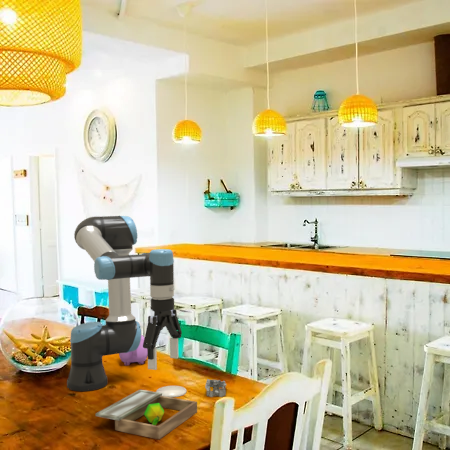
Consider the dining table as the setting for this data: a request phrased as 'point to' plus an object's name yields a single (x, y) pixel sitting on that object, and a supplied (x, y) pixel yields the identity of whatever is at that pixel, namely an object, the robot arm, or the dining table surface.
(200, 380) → the dining table surface
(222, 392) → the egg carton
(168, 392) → the saucer
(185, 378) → the dining table surface
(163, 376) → the dining table surface
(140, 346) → the piggy bank
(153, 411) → the green faceted lump
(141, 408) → the cold frame
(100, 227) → the robot arm
